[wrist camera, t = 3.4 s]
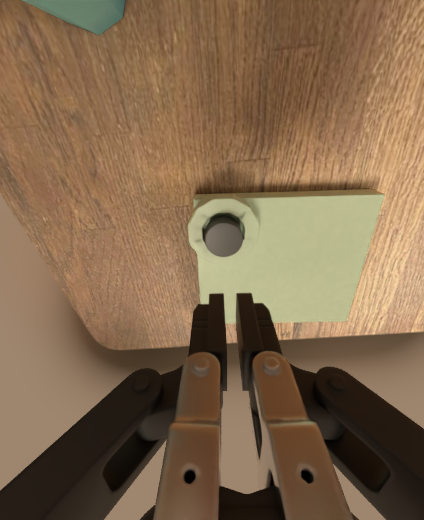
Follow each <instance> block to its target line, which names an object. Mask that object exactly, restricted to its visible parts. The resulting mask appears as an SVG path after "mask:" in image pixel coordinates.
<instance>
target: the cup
mask: <svg viewBox="0 0 424 520" xmlns="http://www.w3.org/2000/svg"><path fill="white" fill-rule="evenodd" d="M22 1H25V2H27V3H29V4H31V5H33V6H35V7H37V8H39V9H41V10H43V11H45V12H47V13H49V14H51V15H53V16H55V17H57V18H60V19H62V20H64V21H66V22H68V23H70V24H72V25H75V26H77V27H80V28H82V29H85V30H87V31H90V32H93V33H95V34H98V35H100V34H102V33H103V32H104V31H106V30H107V29H108V28H110V27H111V26H112V25H114V24H115V23H116V22H118V21H119V20H120V19H122V18H123V14H124V5H125V0H22Z"/></svg>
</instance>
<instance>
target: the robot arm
mask: <svg viewBox="0 0 424 520" xmlns="http://www.w3.org/2000/svg"><path fill="white" fill-rule="evenodd" d="M236 331H237V340H238V350H239V358H240V369H241V378H242V387H243V391H249V397H250V407H249V409H250V416H251V423H252V430H253V437H254V444H255V450H256V457H257V465H258V481H259V491H257V492H254V493H251V494H243V493H240V492H237V491H234V490H231V489H228V488H225V487H222V486H221V409H222V405H223V391H227V346H226V327H225V308H224V293H214V294H209V304H198V306H197V307H196V309H195V310H194V312H193V321H192V329H191V338H190V348H189V355H188V358H187V359H186V361H185V362H184V364H183V365H182V366H181V367H179V368H178V369H176V370H174V371H171V372H168V373H165V374H162V375H160V374H159V373H158V372H157V371H155V370H153V369H148V368H145V369H140V370H138V371H135V372H133V373H132V374H131V375H129V376H128V377H127V378H126V379H125V380H124V381H122V382H121V383H120V384H119V385H118V386H117V387H116V388H115V389H114V390H112V391H111V392H110V393H109V394H108V395H107V396H106V397H105V398H103V399H102V400H101V401H100V402H99V403H98V404H97V405H96V406H95V407H93V408H92V409H91V410H90V411H89V412H88V413H87V414H86V415H84V416H83V417H82V418H81V419H80V420H79V421H78V422H77V423H76V424H74V425H73V426H72V427H71V428H70V429H69V430H68V431H67V432H65V433H64V434H63V435H62V436H61V437H60V438H59V439H58V440H57V441H55V442H54V443H53V444H52V445H51V446H50V447H49V448H48V449H46V450H45V451H44V452H43V453H42V454H41V455H40V456H39V457H37V458H36V459H35V460H34V461H33V462H32V463H31V464H30V465H29V466H27V467H26V468H25V469H24V470H23V471H22V472H21V473H20V474H18V476H16V477H15V478H14V479H13V480H12V481H11V482H10V483H8V484H7V485H6V486H5V487H4V488H3V489H2V490H1V491H0V520H104V519H105V517H106V516H107V515H108V514H109V512H110V511H111V510H112V509H113V507H114V506H115V505H116V503H117V502H118V501H119V500H120V498H121V497H122V496H123V495H124V493H125V492H126V491H127V489H128V488H129V487H130V486H131V484H132V483H133V482H134V480H135V479H136V478H137V477H138V475H139V474H140V473H141V471H142V470H143V469H144V468H145V466H146V465H147V464H148V462H149V461H150V460H151V459H152V457H153V456H154V455H155V454H156V452H157V451H158V450H159V448H160V447H161V446H162V445H163V443H164V442H165V441H166V439H167V442H166V448H165V453H164V459H163V465H162V471H161V477H160V482H159V487H158V494H157V499H156V505H154V506H153V507H152V508H151V509H150V510H149V511H147V513H145V514H144V516H143V517H142V518H141V519H140V520H359V519H358V518H357V517H355V516H354V515H353V514H352V513H351V512H350V510H349V507H348V504H347V502H346V499H345V496H344V493H343V491H342V488H341V485H340V482H339V480H338V477H337V474H336V472H335V469H334V466H333V464H334V465H335V466H336V467H337V468H338V469H339V470H340V471H341V472H342V474H343V475H344V476H345V477H346V478H347V479H348V480H349V481H350V482H351V483H352V484H353V485H354V486H355V487H356V488H357V489H358V490H359V491H360V493H362V495H363V496H364V497H365V498H366V499H367V500H368V501H369V502H370V503H371V504H372V505H373V506H374V507H375V508H376V509H377V510H378V511H379V513H380V514H381V515H382V516H383V517H384V518H385V519H386V520H424V429H423V428H422V427H420V426H419V425H418V424H416V423H415V422H414V421H412V420H411V419H409V418H408V417H407V416H405V415H404V414H403V413H401V412H400V411H399V410H397V409H396V408H395V407H393V406H392V405H390V404H389V403H388V402H386V401H385V400H384V399H382V398H381V397H380V396H378V395H377V394H375V393H374V392H373V391H371V390H370V389H369V388H367V387H366V386H365V385H363V384H362V383H360V382H359V381H358V380H356V379H355V378H354V377H352V376H351V375H350V374H348V373H347V372H345V371H343V370H341V369H338V368H335V367H324V368H321V369H320V370H319V371H318V372H317V373H313V372H309V371H305V370H302V369H299V368H297V367H295V366H293V365H291V364H290V363H289V362H288V360H287V359H286V358H285V357H284V356H283V354H282V352H281V349H280V345H279V342H278V338H277V335H276V331H275V328H274V325H273V321H272V318H271V314H270V311H269V309H268V308H267V307H266V306H265V305H264V304H263V303H254V301H253V297H252V293H236Z"/></svg>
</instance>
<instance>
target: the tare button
mask: <svg viewBox="0 0 424 520" xmlns="http://www.w3.org/2000/svg"><path fill="white" fill-rule="evenodd" d="M242 243H243V235H242V231H241V227H240V225H239V223H238V222H237V220H235V219H234V218H233V217H230V216H226V215H221V216H217V217H215V218H213V219H212V220H211V221H210V222H209V223H208V225H207V227H206V232H205V244H206V247H207V248H208V250H209V251H210V252H211V253H212V254H214V255H216V256H219V257H228V256H231V255H233V254H235V253H236V252H238V251H239V249H240V248H241V246H242Z"/></svg>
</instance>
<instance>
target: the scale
mask: <svg viewBox="0 0 424 520" xmlns="http://www.w3.org/2000/svg"><path fill="white" fill-rule="evenodd" d="M384 196H385V194H383V193H381V192H378V191H376V190H373V189H357V190H323V191H290V192H256V193H223V194H195V196H194V199H193V206H194V211H193V213H192V215H191V217H190V219H189V222H188V238H189V244H190V245H191V246H192V248H193V249H194V250H195V252H196V253H197V264H198V278H199V293H200V304H209V294H214V293H224V308H225V324H231V323H236V293H252V297H253V301H254V303H263V304H264V305H265V306H266V307H267V308H268V309H269V311H270V314H271V318H272V321H273V323H289V322H346V321H347V318H348V315H349V312H350V308H351V305H352V302H353V298H354V295H355V292H356V288H357V285H358V282H359V279H360V275H361V272H362V269H363V265H364V262H365V259H366V255H367V252H368V249H369V245H370V242H371V239H372V235H373V232H374V229H375V225H376V222H377V219H378V215H379V212H380V209H381V206H382V202H383V199H384ZM221 215H226V216H230V217H233V218H234V219H235V220H237V222H238V223H239V225H240V227H241V231H242V235H243V243H242V246H241V248H240V249H239V251H238V252H236V253H235V254H233V255H231V256H228V257H219V256H216V255H214V254H212V253H211V252H210V251H209V250H208V248H207V247H206V244H205V232H206V227H207V225H208V223H209V222H210V221H211V220H212V219H213V218H215V217H217V216H221Z"/></svg>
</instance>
